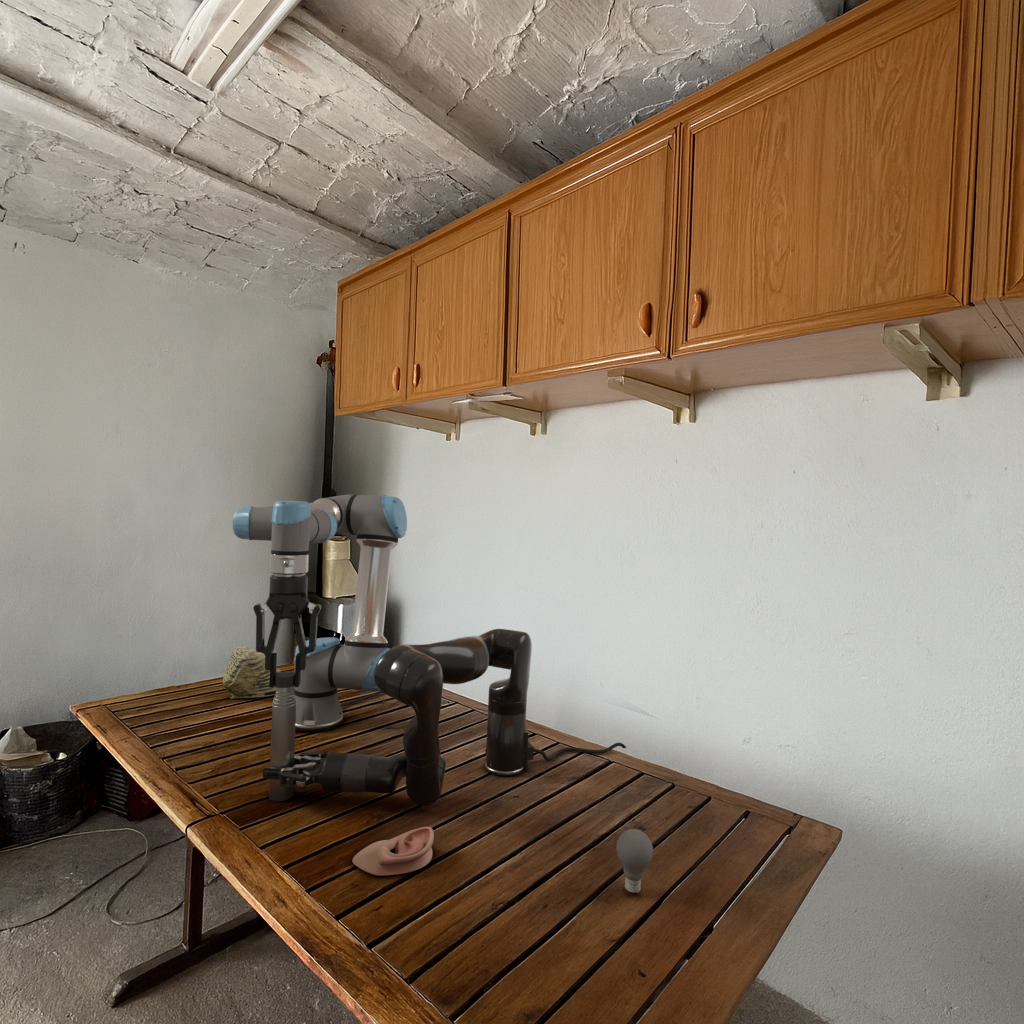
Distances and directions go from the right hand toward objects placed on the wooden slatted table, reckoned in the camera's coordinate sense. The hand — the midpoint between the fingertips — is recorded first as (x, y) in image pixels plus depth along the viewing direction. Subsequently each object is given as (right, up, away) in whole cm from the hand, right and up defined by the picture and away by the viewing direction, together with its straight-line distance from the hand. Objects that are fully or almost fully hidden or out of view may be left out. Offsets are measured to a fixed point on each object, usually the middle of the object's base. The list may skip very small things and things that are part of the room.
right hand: (269, 767), depth 133 cm
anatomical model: (+30, -8, -21) cm, 38 cm away
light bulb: (+71, -10, -28) cm, 77 cm away
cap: (+3, +19, 0) cm, 20 cm away
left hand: (+3, +17, 0) cm, 18 cm away
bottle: (+2, -6, 0) cm, 7 cm away
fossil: (-30, -4, +65) cm, 71 cm away
